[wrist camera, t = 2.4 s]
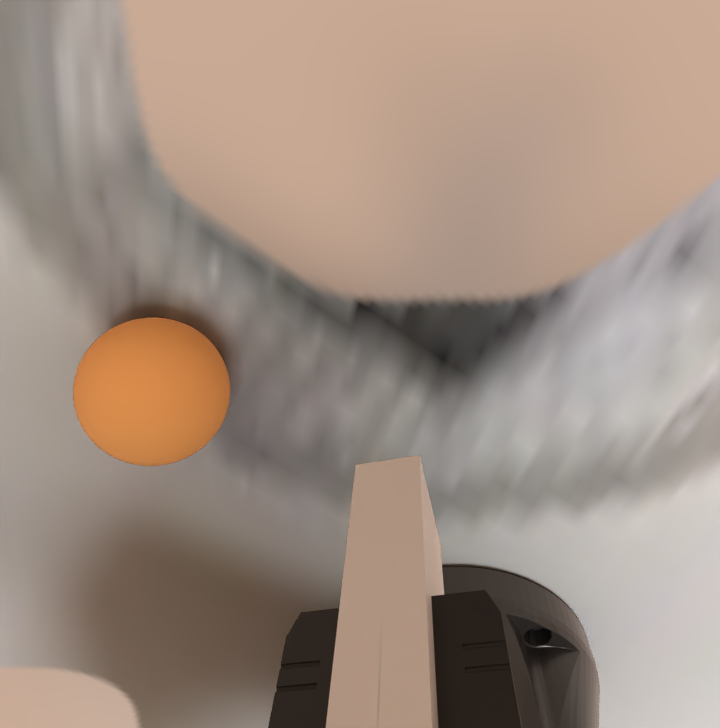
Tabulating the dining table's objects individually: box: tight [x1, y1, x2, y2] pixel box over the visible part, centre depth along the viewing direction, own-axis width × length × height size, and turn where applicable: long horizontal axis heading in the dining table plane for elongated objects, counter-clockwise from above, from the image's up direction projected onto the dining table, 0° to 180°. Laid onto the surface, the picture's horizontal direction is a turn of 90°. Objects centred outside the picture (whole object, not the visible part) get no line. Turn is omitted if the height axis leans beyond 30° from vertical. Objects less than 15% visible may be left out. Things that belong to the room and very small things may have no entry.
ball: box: [73, 317, 230, 466], centre depth 24 cm, size 6×6×6 cm
